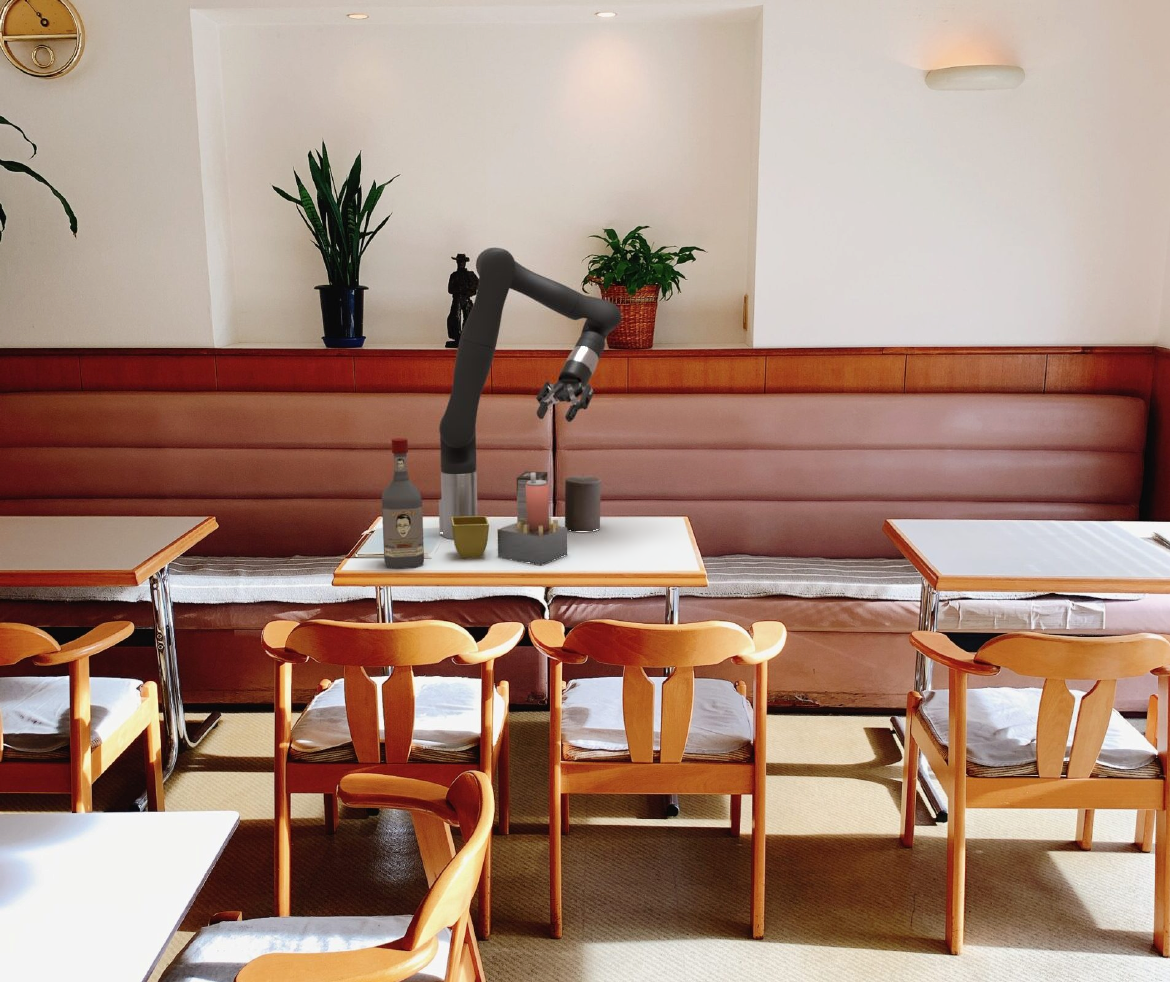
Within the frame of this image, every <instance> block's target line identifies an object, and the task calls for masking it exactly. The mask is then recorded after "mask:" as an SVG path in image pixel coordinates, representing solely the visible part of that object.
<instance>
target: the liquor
mask: <svg viewBox="0 0 1170 982" xmlns="http://www.w3.org/2000/svg"><path fill="white" fill-rule="evenodd" d="M408 441H409V440H408V439H407V438H404V437H401V438H400V437H398V438H392V439H391V453H392V454H393V477H392V481H390V483H389V484H388V486H386V488H385V489H384V490H383V492H382V495H381V508H382V509H381V510H382V511H381V515H382V516H381V517H382V534H383V535H382V537H383V559H384V565H385V566H386V568H388V569H389V568H390V569H394V570H398V569H413V568H419V567H422V566H423V565H424V563H425V547H424V515H423V499H422V495H421V493H420V490H419V489H418V488H417V487H416V486H415V484H413V482H412V481H411V480H410V478H409V473H408V459H407V458H408V456H407V455H408V454H407V453H409V446H408Z"/></svg>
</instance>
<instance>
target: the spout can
mask: <svg viewBox="0 0 1170 982" xmlns="http://www.w3.org/2000/svg"><path fill="white" fill-rule="evenodd" d="M549 503H550V502H549V483H547V481H545V480H536V473H531V481H527V484H526V515H527V525H529V531H538V525H542V526H543V531H545V530H548V529H549V517H550V515H549V514H550V513H549V512H550V510H549V508H550V507H549V506H550V505H549Z"/></svg>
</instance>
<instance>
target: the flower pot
mask: <svg viewBox="0 0 1170 982" xmlns="http://www.w3.org/2000/svg"><path fill="white" fill-rule="evenodd" d="M451 522H452V530H453V538H454V539H453V541H454V547H455V550H456V552H457V555H458V556H459V558H460V559H467V558H468V559H470V558H471V559H473V558H475V559H476V558H477V559H479V558H481V557H483V555H484V553H485V551H486V548H487V546H488V540H489V539H488V538H489V530H490V522H489V519H488V517H487V516H485V515H477V516H467V517H451Z"/></svg>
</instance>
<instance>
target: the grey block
mask: <svg viewBox="0 0 1170 982" xmlns="http://www.w3.org/2000/svg"><path fill="white" fill-rule="evenodd" d="M564 555H566V556H568V530H567V527H565V526H559V520H558V519H553V520H552V517H550V516H549V529H548V530H545V531H543V526H542V525H538V531H529V525H527V521H525V519H524V518H521V519H520V522H517V521H516V523H513V524H510V525H507V526H504V527H501V528H497V558H500V559H504V558H505V560H510V559H512V560H511V561H515V560H516V561H515V562H520V561H523V562H522V563H525V562H530V563H529V564H531V563H534V564H533V565H536V564H540V565H539V566H543V565H542V564H544V565H546V564H548V563H547V562H549V561H551V562H553V561H552V560H554V559H556V560H558V559H557V558H559V557H561V556H564ZM564 557H565V556H564ZM561 558H562V557H561ZM559 559H560V558H559ZM554 561H555V560H554ZM545 563H546V564H545ZM549 563H550V562H549Z"/></svg>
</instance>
